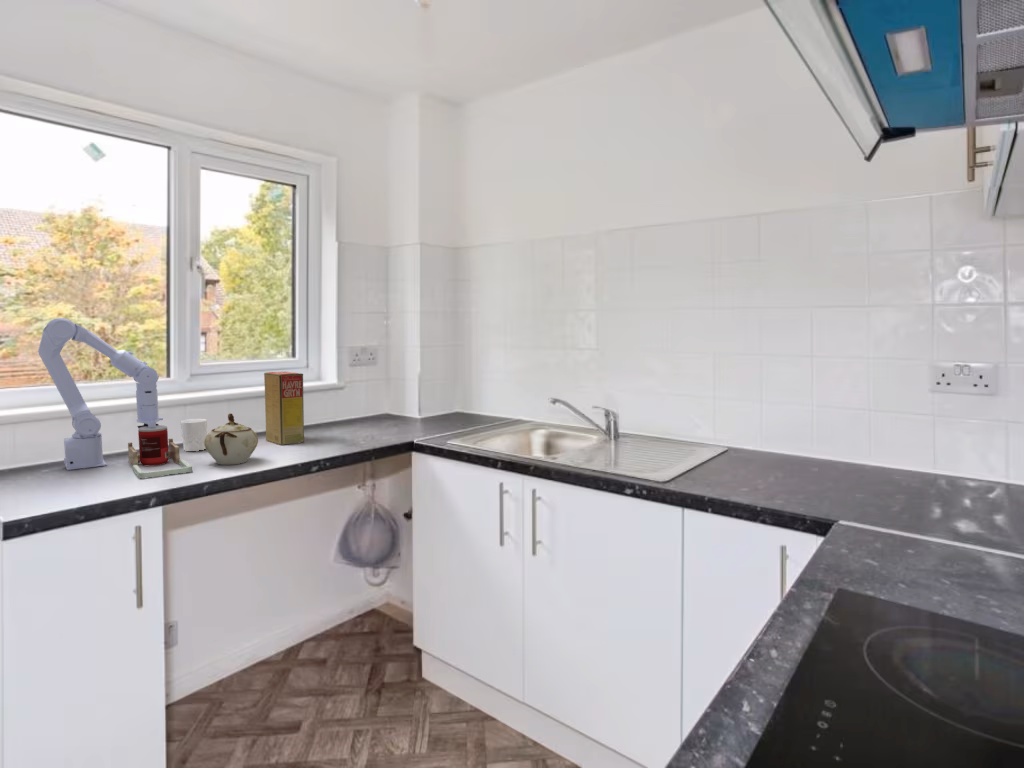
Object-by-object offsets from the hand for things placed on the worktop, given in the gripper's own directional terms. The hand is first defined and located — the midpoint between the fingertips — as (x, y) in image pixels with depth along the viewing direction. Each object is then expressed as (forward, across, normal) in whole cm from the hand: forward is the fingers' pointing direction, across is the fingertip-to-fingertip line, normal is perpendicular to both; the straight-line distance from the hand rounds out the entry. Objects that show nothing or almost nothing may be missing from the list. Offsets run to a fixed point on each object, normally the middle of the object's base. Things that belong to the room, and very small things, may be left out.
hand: (149, 447), depth 192 cm
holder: (+3, -8, 0) cm, 9 cm away
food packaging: (+4, +3, -43) cm, 43 cm away
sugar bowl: (+4, -21, -19) cm, 29 cm away
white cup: (+4, +6, -14) cm, 16 cm away
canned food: (+4, -8, 0) cm, 9 cm away
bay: (+3, -21, 0) cm, 22 cm away
